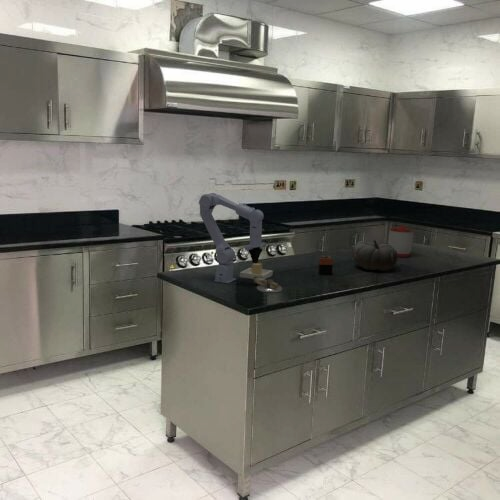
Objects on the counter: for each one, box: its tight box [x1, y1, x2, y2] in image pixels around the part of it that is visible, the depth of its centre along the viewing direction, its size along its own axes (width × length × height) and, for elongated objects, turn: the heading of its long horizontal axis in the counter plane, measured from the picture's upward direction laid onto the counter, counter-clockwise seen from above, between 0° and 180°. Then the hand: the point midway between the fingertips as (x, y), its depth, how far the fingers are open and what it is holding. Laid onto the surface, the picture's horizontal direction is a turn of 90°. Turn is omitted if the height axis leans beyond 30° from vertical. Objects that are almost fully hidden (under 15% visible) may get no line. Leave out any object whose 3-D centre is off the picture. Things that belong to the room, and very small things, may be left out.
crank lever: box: [252, 277, 279, 289], centre depth 258 cm, size 16×3×3 cm, turn 42°
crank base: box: [256, 284, 283, 293], centre depth 257 cm, size 12×12×1 cm
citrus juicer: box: [387, 224, 416, 258], centre depth 348 cm, size 16×17×20 cm
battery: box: [318, 255, 334, 276], centre depth 290 cm, size 4×7×10 cm, turn 92°
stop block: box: [251, 262, 263, 275], centre depth 280 cm, size 4×4×6 cm
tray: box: [239, 267, 274, 280], centre depth 280 cm, size 13×13×2 cm
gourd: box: [352, 239, 399, 272], centre depth 308 cm, size 25×25×17 cm
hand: (254, 263), depth 263 cm, fingers closed
